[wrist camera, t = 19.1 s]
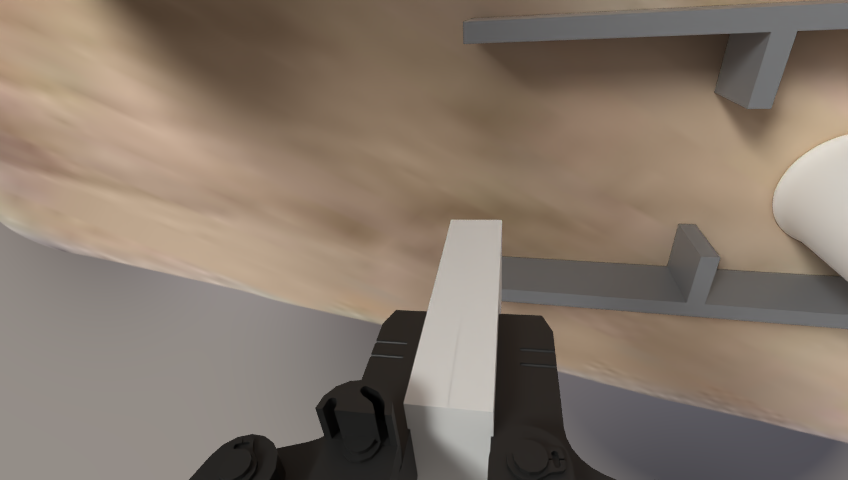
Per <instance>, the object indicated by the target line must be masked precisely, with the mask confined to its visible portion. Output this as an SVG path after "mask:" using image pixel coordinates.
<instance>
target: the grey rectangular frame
mask: <svg viewBox="0 0 848 480" xmlns="http://www.w3.org/2000/svg"><path fill="white" fill-rule="evenodd" d="M834 29H848V0H819V1H799V2H780V3H760V4H741V5H721V6H702V7H682V8H663V9H643V10H623V11H604V12H584V13H565V14H545V15H526V16H506V17H487V18H471V19H469V20H467V21H464V22H463V44H476V43H502V42H527V41H553V40H578V39H604V38H629V37H655V36H680V35H706V34H730V36H729V40H728V43H727V47H726V51H725V54H724V58H723V62H722V66H721V69H720V73H719V77H718V80H717V84H716V88H715V91H714V92H715V93H717V94H719V95H721V96H723V97H725V98H726V99H728V100H730V101H732V102H734V103H736V104H738V105H740V106H742V107H744V108H746V109H771V108H772V105H773V102H774V99H775V96H776V93H777V90H778V87H779V84H780V81H781V78H782V75H783V72H784V69H785V66H786V63H787V60H788V57H789V55H790V52H791V49H792V46H793V43H794V40H795V37H796V34H797V31H808V30H834ZM719 261H720V256H719V255H718V254H717V252H716V251H715V250H714V248H713V247H712V246H711V244H710V243H709V242H708V240H707V239H706V238H705V237H704V235H703V234H702V233H701V231H700V230H699V229H698V227H697V226H696V225H695V224H679V225H678V228H677V232H676V236H675V239H674V243H673V247H672V250H671V254H670V258H669V261H668V265H667V266H654V265H637V264H620V263H604V262H587V261H570V260H554V259H537V258H520V257H504V256H502V298H501V301H507V302H520V303H532V304H544V305H557V306H569V307H581V308H594V309H606V310H619V311H631V312H643V313H656V314H668V315H681V316H693V317H705V318H718V319H730V320H743V321H755V322H767V323H780V324H792V325H805V326H817V327H829V328H842V329H848V281H846V280H845V279H844V278H843V277H837V276H821V275H804V274H787V273H771V272H754V271H737V270H720V269H717V267H718V264H719Z"/></svg>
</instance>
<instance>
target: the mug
mask: <svg viewBox="0 0 848 480" xmlns="http://www.w3.org/2000/svg"><path fill="white" fill-rule="evenodd" d="M772 208H773V214H774V217H775V220H776V222H777V224H778V225H779V226H780V228H781V229H782V230H783V231H784V232H785V233H787V234H788V235H789V236H791V237H792V238H794V239H796V240H799V241H801V242H802V243H804V244H805V245H806V246H807V247H808V248H810V249H811V250H812V251H813V252H814V253H815V254H816V255H818V256H819V257H820V258H821V259H822V260H823V261H825V262H826V263H827V264H828V265H829V266H830V267H831V268H833V269H834V270H835V271H836V272H837V273H838V274H839V275H841V276H842V277H843V278H844V279H845V280H846V281H848V134H847V135H843V136H840V137H837V138H834V139H831V140H829V141H826V142H824V143H822V144H820V145H818V146H816V147H815V148H813V149H811V150H810V151H808V152H807V153H805V154H804V155H803V156H801V157H800V158H799V159H798V160H796V161H795V162H794V163H793V164H792V165H791V166H790V167H789V168H788V170H787V171H786V172H785V173H784V175H783V176H782V178H781V179H780V181H779V183H778V185H777V187H776V189H775V192H774V196H773V202H772Z"/></svg>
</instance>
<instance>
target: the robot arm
mask: <svg viewBox="0 0 848 480" xmlns="http://www.w3.org/2000/svg"><path fill="white" fill-rule="evenodd" d="M501 298H502V220H451V222H450V226H449V230H448V234H447V237H446V241H445V245H444V249H443V253H442V257H441V261H440V264H439V268H438V272H437V276H436V280H435V284H434V288H433V291H432V295H431V299H430V303H429V307H428V311H427V312H425V311H405V310H396V311H395V312H394V313H393V314H392V315H391V316H390V317H389V318H388V319H387V320H386V321H385V322H384V323H383V325H382V327H381V330H380V333H379V335H378V338H377V343H376V344H375V346H374V348H373V351H372V356H371V357H370V359H369V362H368V364H367V367H366V369H365V372H364V375H363V377H362V380H359V381H349V382H347V383H344V384H341V385H339V386H336V387H335V388H334V389H333V390H331V391H330V392H329V393H327V394H326V395H324V396H323V398H322V399H321V401H320V402H319V404H318V405H317V407H316V411H317V414H318V417H319V421H320V423H321V427H322V430H323V433H324V436H323V437H321V438H319V439H316V440H313V441H310V442H306V443H301V444H296V445H292V446H286V447H282V448H277V449H276V447H275V445H274V443H273V442H272V441H270V440H269V439H268V438H266V437H265V436H260V435H254V434H251V435H246V436H241V437H237V438H235V439H233V440H231V441H229V442H227V443H226V444H224V445H222V446H221V447H220V448H219V449H218V450H217V451H215V452H214V453H213V454H212V455H211V456H210V457H209V458H208V459H207V460H206V461H205V462H204V464H203V465H202V466H201V467H200V468H199V469H198V470H197V471H196V473H195V474H194V475H193V476H192V477H191V478H190V479H189V480H615V479H613V478H611V477H609V476H606V475H604V474H602V473H600V472H598V471H597V470H595V469H593V468H591V467H590V466H589V465H587V464H586V463H585V462H584V461H583V460H581V459H580V457H579V456H578V455H577V454H576V453H575V452H574V450H573V449H572V448H571V446H570V444H569V442H568V440H567V438H566V434H565V431H564V426H563V417H562V408H561V399H560V390H559V382H558V373H557V364H556V355H555V346H554V338H553V331H552V330H551V328H550V327H549V325H548V324H547V323H546V321H545V320H544V318H543V317H542V316H535V315H514V314H501Z"/></svg>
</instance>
